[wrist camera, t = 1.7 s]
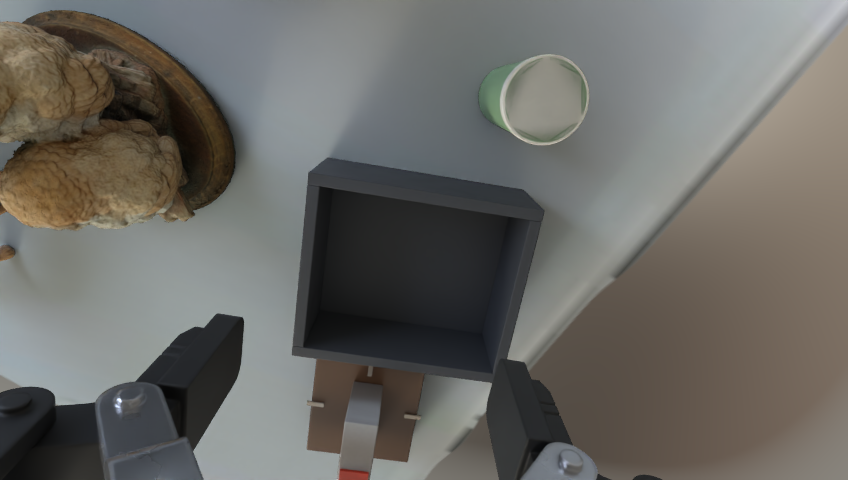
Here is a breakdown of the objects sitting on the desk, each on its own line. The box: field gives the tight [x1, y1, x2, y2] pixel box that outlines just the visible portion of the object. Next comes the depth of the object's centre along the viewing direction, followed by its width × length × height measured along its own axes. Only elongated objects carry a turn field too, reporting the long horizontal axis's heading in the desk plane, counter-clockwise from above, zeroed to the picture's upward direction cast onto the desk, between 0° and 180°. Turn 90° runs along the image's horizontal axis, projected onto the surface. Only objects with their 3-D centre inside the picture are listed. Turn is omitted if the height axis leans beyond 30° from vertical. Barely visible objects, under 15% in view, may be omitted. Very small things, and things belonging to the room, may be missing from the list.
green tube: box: [478, 54, 589, 145], centre depth 30 cm, size 5×5×11 cm
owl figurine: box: [0, 10, 235, 231], centre depth 27 cm, size 18×12×17 cm, turn 52°
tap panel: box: [307, 359, 425, 462], centre depth 41 cm, size 10×10×3 cm
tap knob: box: [337, 381, 383, 480], centre depth 37 cm, size 6×2×5 cm, turn 170°
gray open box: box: [292, 158, 544, 383], centre depth 36 cm, size 14×16×7 cm
